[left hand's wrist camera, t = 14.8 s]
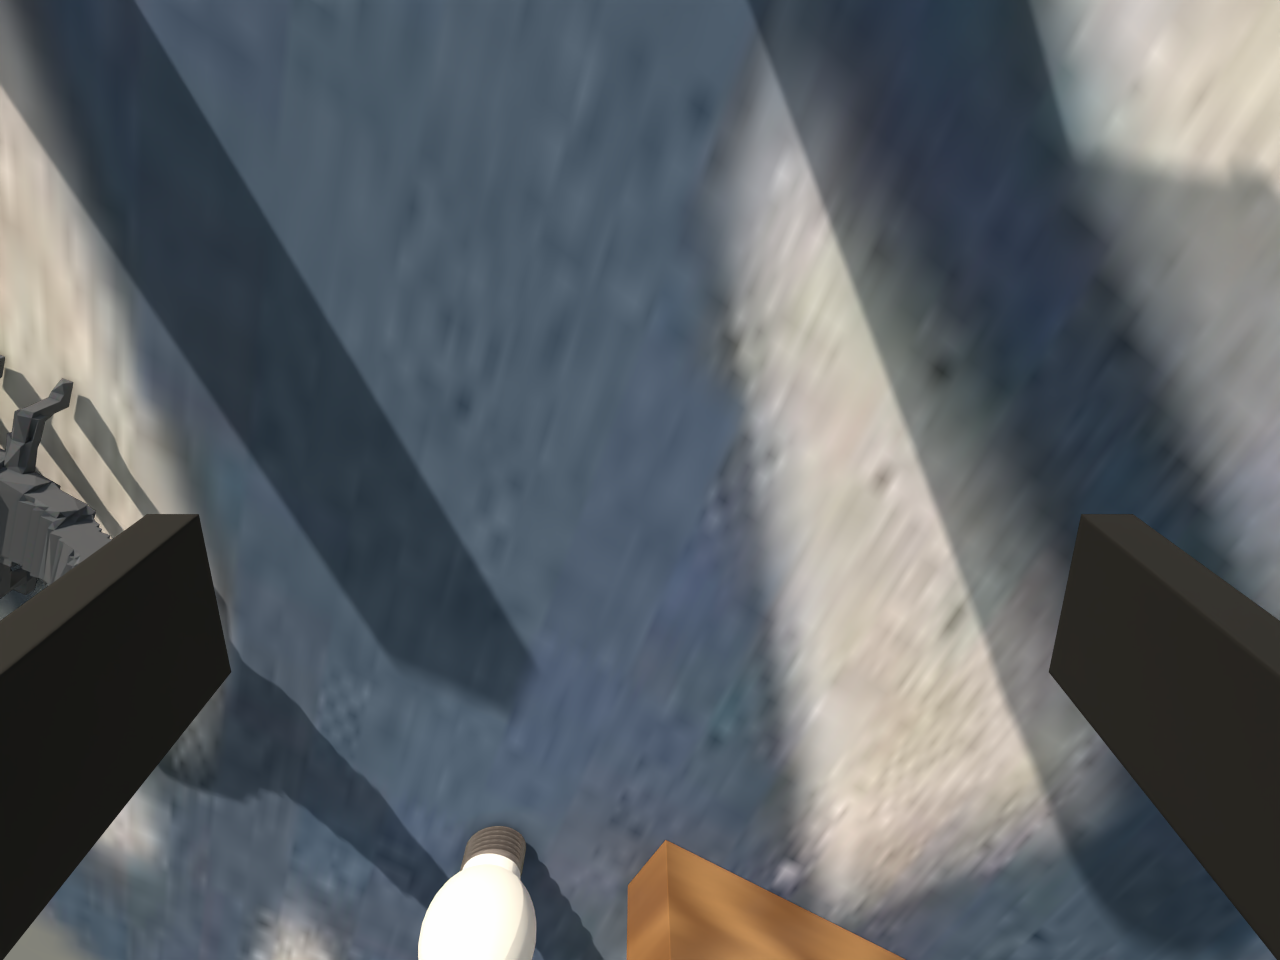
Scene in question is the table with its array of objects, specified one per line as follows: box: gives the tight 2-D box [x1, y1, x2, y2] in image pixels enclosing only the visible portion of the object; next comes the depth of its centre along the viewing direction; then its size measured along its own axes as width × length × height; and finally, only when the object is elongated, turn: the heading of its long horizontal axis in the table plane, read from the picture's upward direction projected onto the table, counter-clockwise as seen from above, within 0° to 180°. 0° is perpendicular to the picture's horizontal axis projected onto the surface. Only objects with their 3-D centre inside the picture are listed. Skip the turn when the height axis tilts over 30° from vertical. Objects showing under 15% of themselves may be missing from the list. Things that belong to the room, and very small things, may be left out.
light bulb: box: [418, 826, 536, 960], centre depth 50 cm, size 7×7×11 cm
